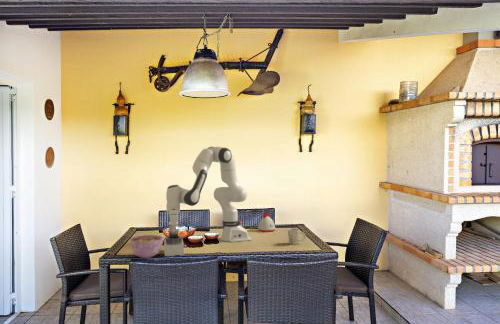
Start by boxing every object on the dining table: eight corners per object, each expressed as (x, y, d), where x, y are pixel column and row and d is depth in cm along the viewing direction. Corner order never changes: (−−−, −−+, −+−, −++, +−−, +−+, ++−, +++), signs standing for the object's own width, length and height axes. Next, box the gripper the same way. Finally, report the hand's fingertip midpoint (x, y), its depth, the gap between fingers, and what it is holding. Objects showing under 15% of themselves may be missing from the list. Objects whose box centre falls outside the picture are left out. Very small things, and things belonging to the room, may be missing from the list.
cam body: (182, 248, 286) (182, 234, 286) (183, 255, 269) (183, 240, 268) (164, 249, 284) (164, 235, 283) (164, 256, 266) (164, 241, 266)
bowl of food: (153, 251, 280) (153, 233, 280) (168, 256, 265) (168, 238, 265) (124, 256, 267) (124, 238, 266) (139, 262, 252) (139, 243, 251)
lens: (178, 234, 281) (178, 221, 281) (178, 236, 275) (178, 222, 275) (168, 234, 280) (168, 221, 280) (168, 236, 274) (168, 223, 274)
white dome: (255, 231, 343) (254, 212, 342) (263, 228, 355) (263, 210, 354) (270, 233, 336) (269, 214, 335) (278, 229, 347) (278, 211, 347)
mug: (287, 242, 303) (287, 228, 303) (304, 241, 303) (304, 228, 303) (288, 244, 295) (288, 230, 294) (306, 244, 295) (306, 230, 295)
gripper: (168, 207, 287) (168, 227, 287) (168, 212, 267) (168, 233, 267) (177, 207, 288) (177, 227, 288) (178, 211, 268) (178, 233, 268)
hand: (173, 230), depth 278 cm, fingers closed on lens, 6 cm apart
